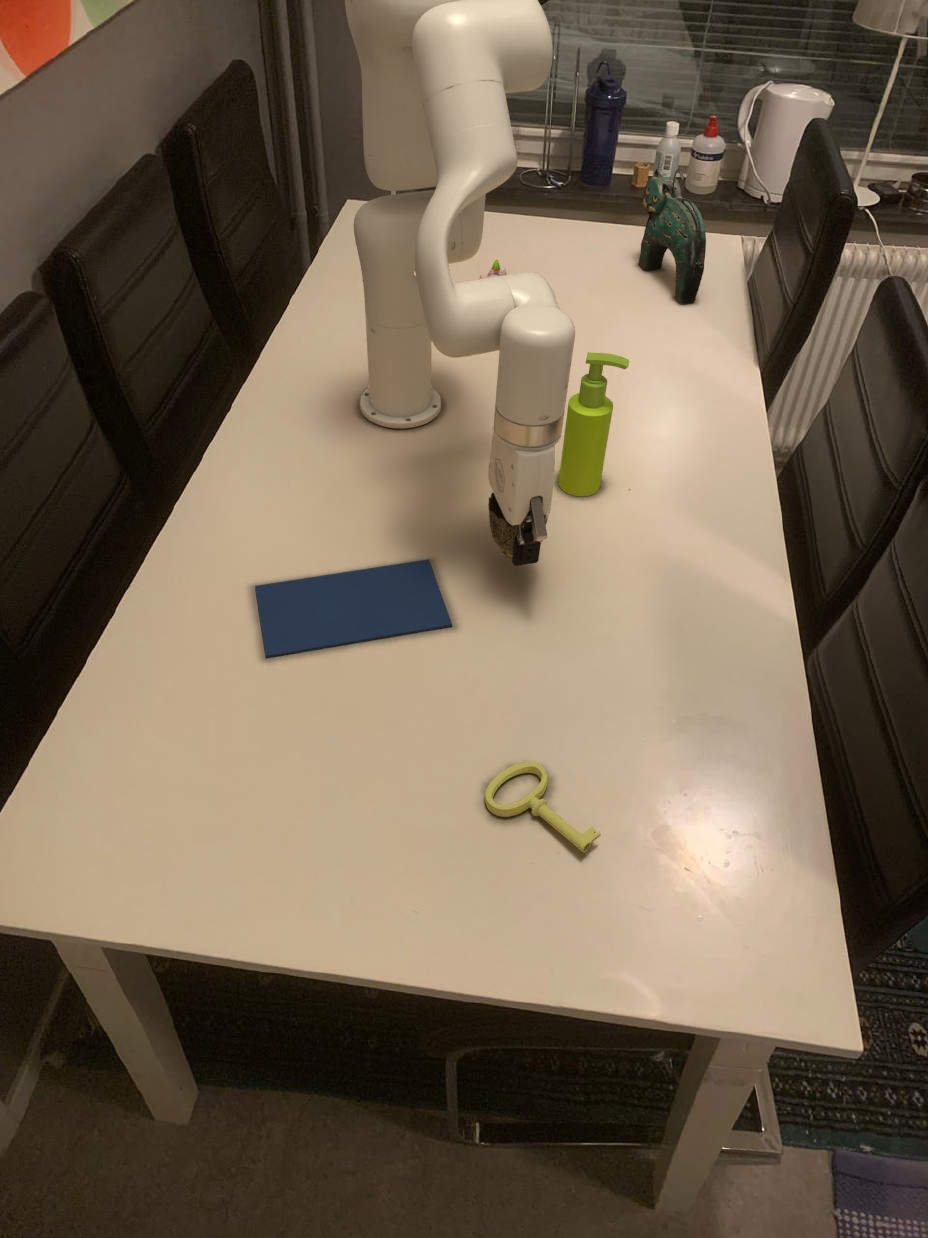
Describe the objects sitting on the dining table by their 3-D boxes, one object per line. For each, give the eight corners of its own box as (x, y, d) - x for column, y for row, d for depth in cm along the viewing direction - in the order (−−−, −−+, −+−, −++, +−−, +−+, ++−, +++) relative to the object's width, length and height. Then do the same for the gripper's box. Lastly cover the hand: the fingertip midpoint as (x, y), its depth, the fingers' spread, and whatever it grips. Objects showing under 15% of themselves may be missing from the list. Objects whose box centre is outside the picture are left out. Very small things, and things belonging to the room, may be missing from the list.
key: (587, 863, 87) (590, 851, 86) (475, 806, 91) (476, 794, 90) (617, 808, 92) (620, 796, 90) (509, 756, 96) (510, 744, 94)
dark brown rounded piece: (551, 541, 115) (558, 491, 110) (534, 579, 111) (541, 529, 105) (494, 526, 117) (499, 476, 111) (476, 563, 112) (480, 513, 106)
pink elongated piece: (481, 282, 176) (472, 305, 164) (483, 249, 172) (473, 271, 160) (513, 285, 176) (506, 308, 163) (516, 252, 172) (509, 274, 160)
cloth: (255, 588, 113) (254, 585, 112) (429, 561, 117) (429, 559, 117) (266, 658, 104) (265, 655, 104) (452, 626, 109) (452, 624, 109)
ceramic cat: (629, 261, 181) (646, 154, 167) (658, 258, 183) (678, 152, 169) (674, 307, 168) (697, 195, 154) (706, 303, 170) (731, 192, 155)
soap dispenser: (605, 500, 127) (627, 371, 113) (555, 493, 128) (572, 364, 114) (608, 475, 131) (631, 348, 117) (561, 468, 132) (577, 341, 118)
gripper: (474, 381, 105) (467, 502, 117) (519, 472, 93) (506, 595, 106) (536, 374, 106) (523, 494, 119) (588, 463, 95) (567, 585, 108)
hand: (515, 541), depth 112 cm, fingers closed on dark brown rounded piece, 7 cm apart
